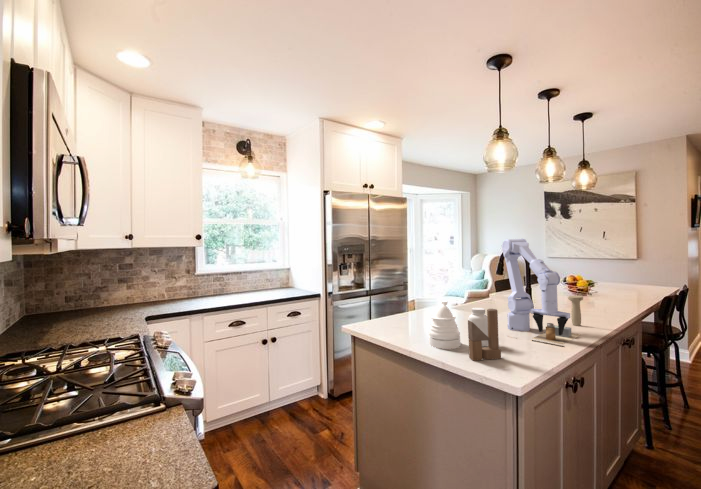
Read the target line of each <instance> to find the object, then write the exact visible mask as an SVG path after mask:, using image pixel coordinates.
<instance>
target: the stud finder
mask: <svg viewBox="0 0 701 489" xmlns="http://www.w3.org/2000/svg"><path fill="white" fill-rule="evenodd" d="M554 327H555V336H561V337H567V338H569V337H571V336H572V333H573V332H572V327H568V326H565V327H564V330H563V335H559V327H558V325H555V324H554Z"/></svg>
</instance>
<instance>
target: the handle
mask: <svg viewBox="0 0 701 489" xmlns="http://www.w3.org/2000/svg"><path fill="white" fill-rule="evenodd" d="M567 298H568V300H569V301H570V302H571V313H570V318H571V324H572V326H575V327H581V326H582V310H581V301H583V300H584V297H583V296H581V295H570V296H569V295H568V297H567Z"/></svg>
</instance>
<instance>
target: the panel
mask: <svg viewBox="0 0 701 489" xmlns="http://www.w3.org/2000/svg"><path fill="white" fill-rule="evenodd" d="M571 333H572V336H571V337H569V338H567V337H561V336H555V337H556V340H547V339H546V331H545V332H543V333H541V334H539V335H536V336H533V337H532V339H531V342H535V343H540V344H545V345H549V346H550V345H551V346H554V347H555V346H556V347H561V348H565V347H566V346H565V344H566V343H569V342H571V341H573V340H574V339H576V338H578V337H580V336H581V334H580V333H579V334H578V333H573V332H571Z"/></svg>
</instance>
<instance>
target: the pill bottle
mask: <svg viewBox="0 0 701 489" xmlns="http://www.w3.org/2000/svg"><path fill="white" fill-rule="evenodd" d="M468 320H469V321H471V322H473V323H474V324H475V325H476V326H477V327H478V328H479V329H480V330H481V331H482V332H483V333H484V334H485V335H487V336H488V322H487V314H486V309H485V308H484V307H472V308H471V314H470V315H469V316H468ZM483 347H488V340H485V341H482V348H483Z"/></svg>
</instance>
